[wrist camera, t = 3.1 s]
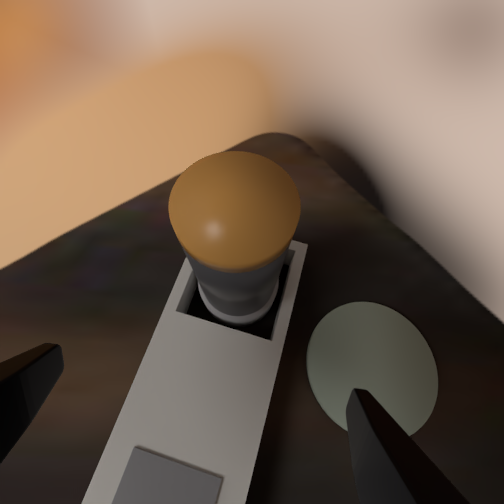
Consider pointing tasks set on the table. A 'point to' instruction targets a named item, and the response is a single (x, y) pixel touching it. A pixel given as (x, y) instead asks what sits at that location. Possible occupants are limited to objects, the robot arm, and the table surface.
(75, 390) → the table surface
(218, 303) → the plug
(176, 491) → the power strip
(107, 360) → the table surface
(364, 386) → the rubber mat
